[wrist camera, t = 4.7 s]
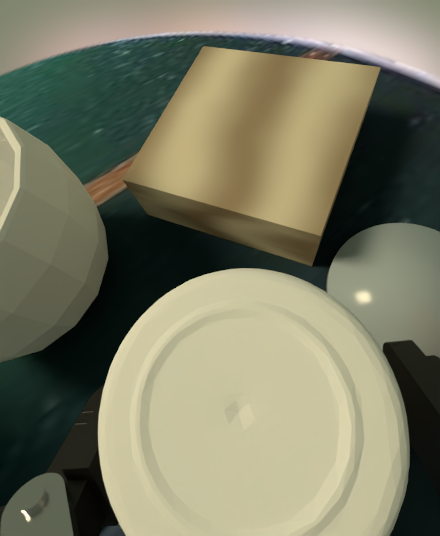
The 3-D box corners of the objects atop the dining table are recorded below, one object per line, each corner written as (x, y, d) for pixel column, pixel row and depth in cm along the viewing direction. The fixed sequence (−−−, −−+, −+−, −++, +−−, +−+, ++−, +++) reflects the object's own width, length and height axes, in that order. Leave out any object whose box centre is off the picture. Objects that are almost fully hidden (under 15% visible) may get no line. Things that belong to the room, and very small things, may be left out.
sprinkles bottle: (231, 347, 18) (132, 248, 5) (312, 359, 17) (414, 272, 5) (217, 434, 16) (37, 571, 4) (306, 454, 15) (438, 715, 3)
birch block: (147, 214, 22) (122, 179, 19) (213, 95, 26) (203, 46, 22) (311, 266, 19) (320, 236, 15) (363, 120, 22) (380, 67, 18)
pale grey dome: (307, 333, 17) (309, 330, 16) (346, 216, 20) (350, 207, 19) (468, 394, 15) (481, 395, 14) (492, 254, 17) (504, 246, 16)
